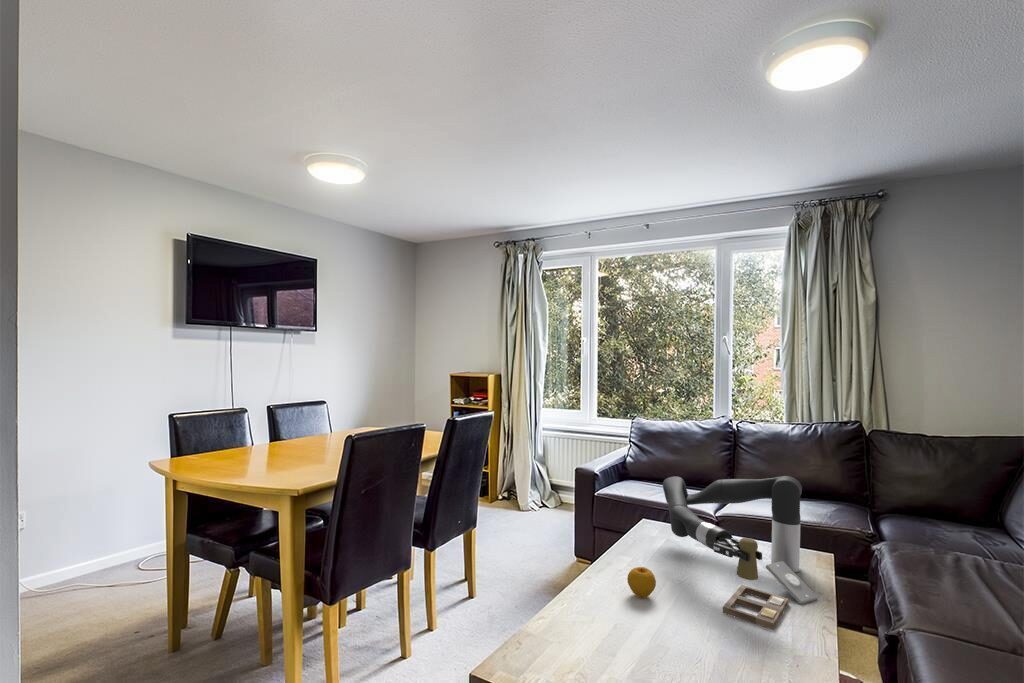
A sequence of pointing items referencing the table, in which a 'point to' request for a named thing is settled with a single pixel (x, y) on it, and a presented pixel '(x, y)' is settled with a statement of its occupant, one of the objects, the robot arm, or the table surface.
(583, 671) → the table surface
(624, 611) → the table surface
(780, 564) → the light switch
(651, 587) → the apple
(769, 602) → the wooden frame
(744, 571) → the olive pawn figure
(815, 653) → the table surface
